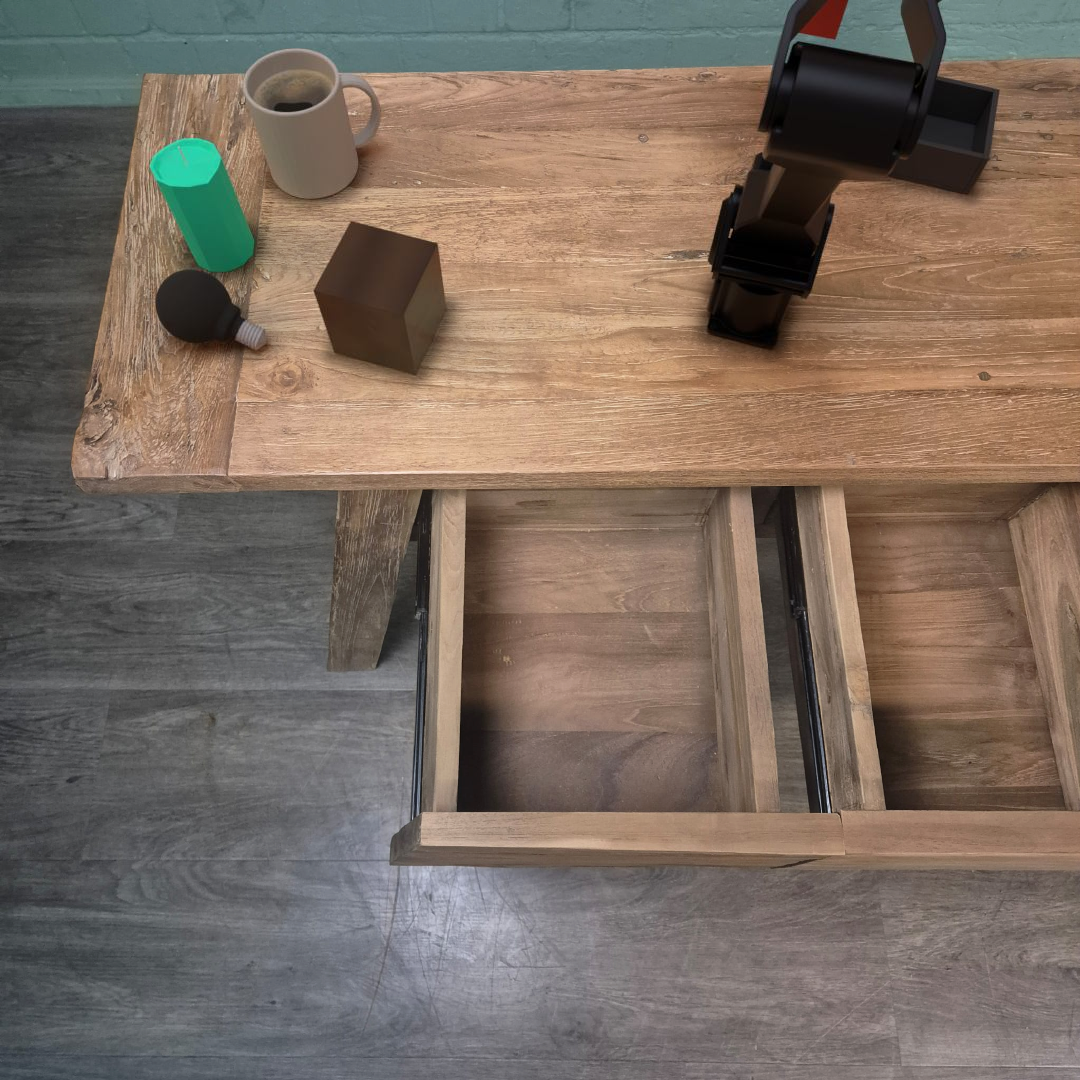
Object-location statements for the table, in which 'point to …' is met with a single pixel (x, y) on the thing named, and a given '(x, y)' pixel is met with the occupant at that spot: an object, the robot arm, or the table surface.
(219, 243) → the candle
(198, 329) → the light bulb
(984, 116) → the dark gray open box
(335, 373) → the table surface
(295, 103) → the mug
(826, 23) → the red rectangular block
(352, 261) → the dark wooden block
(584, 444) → the table surface
